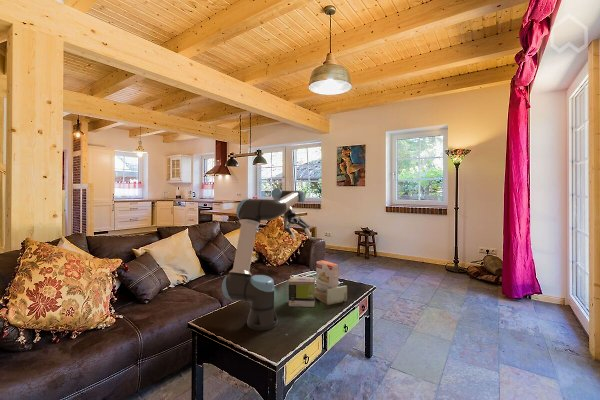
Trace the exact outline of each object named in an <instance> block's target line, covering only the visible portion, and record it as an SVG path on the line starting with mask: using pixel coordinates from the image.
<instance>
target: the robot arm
mask: <svg viewBox="0 0 600 400" xmlns="http://www.w3.org/2000/svg"><path fill="white" fill-rule="evenodd" d="M270 195H271V198H272V199H266V198H264V199H261V198H260V199H259V198H258V199H257V198H256V199H255V198H248V199H242V200H241V201H239V203H238V205H237V207H236V217H237V219H238V222H239V224H240V227H239V228H240V229H239V234H238V235H239V236H238V240H237V245H236V249H235V255H234V256H235V257H234V262H233V267H232V269H231V270H230V271H229V272H228V274H227V275H226V276H225V277H224V278H223V280H222V284H221V291H222V294H223V297H225V298H226V299H227V300H231V301H237V302H238V301H240V302H246V303H247V302H248V303H250V311H249V313H248V316H247V321H246V326H247V327H248V328H249V329H251V330H253V331H259V332H260V331H268V330H271V329H274V328H275V327H277V325H278V321H279V320H278V316H277V311H276V310H275V281H274V279H273V278H272V277H270V276H269V275H265V274H255V275H253V274H252V273H251V272H250V270H251V264H252V263H251V262H252V257H253V251H254V245H255V240H256V234H257V228H258V227H259V226H260V225H261V222H262V221H271V220H275V219H277V218H279V217H281V216H284V218H283V220H282V222H283V231H284V232H286V233H288V235H289V236H290V237H291V239H292V240H294V239H296V235H295V234H294V232H293V230H292V229H291V226H292V225H298V226H300V227H301V228H303V229H304V232H305V234H306V235H307V237H308V238H311V236H312V234H311V232H310V231H311V230H310V228H309V227H310V225H309V224H308V223H307V222H306V221H305V220H304V219H303V218H302V217H301V216H298V217H297V216H296V212H295V210H294V209H293V207H292V206H294V205H296V204H297V203H304V202H305V198H306V193H305V191H304V190H282V189H280V188H279V187H276V188H273V189H272V191H271V194H270Z"/></svg>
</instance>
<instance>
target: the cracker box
mask: <svg viewBox="0 0 600 400" xmlns="http://www.w3.org/2000/svg"><path fill="white" fill-rule="evenodd" d="M315 265H316V266H315V268H316V269H315V271H316V274H315V276H316V277H315V287H316V288H318V289H319V290H321V291H323V292H325V293H326V294H327V289H330V288H336V287H339V264H337V263H335V262H330V261H326V260H318V261H316V264H315Z"/></svg>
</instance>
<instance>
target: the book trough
mask: <svg viewBox="0 0 600 400" xmlns="http://www.w3.org/2000/svg"><path fill="white" fill-rule="evenodd" d="M315 299H317V300H318V301H320V302H322V303H323V304H325V305H327V306H329V305H334V304H335V305H336V304H339V303H344V302H347V301H348V286H347V285H342V286H338V287H336V288H330V289H327V294H326V293H325V292H323V291H321V290H319V289H318V288H316V286H315ZM343 301H344V302H343Z"/></svg>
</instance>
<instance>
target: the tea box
mask: <svg viewBox="0 0 600 400" xmlns="http://www.w3.org/2000/svg"><path fill="white" fill-rule="evenodd" d="M315 287H316V277H315V276H290V277H289V279H288V306H289V307H307V308H315V303H316V298H315Z"/></svg>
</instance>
